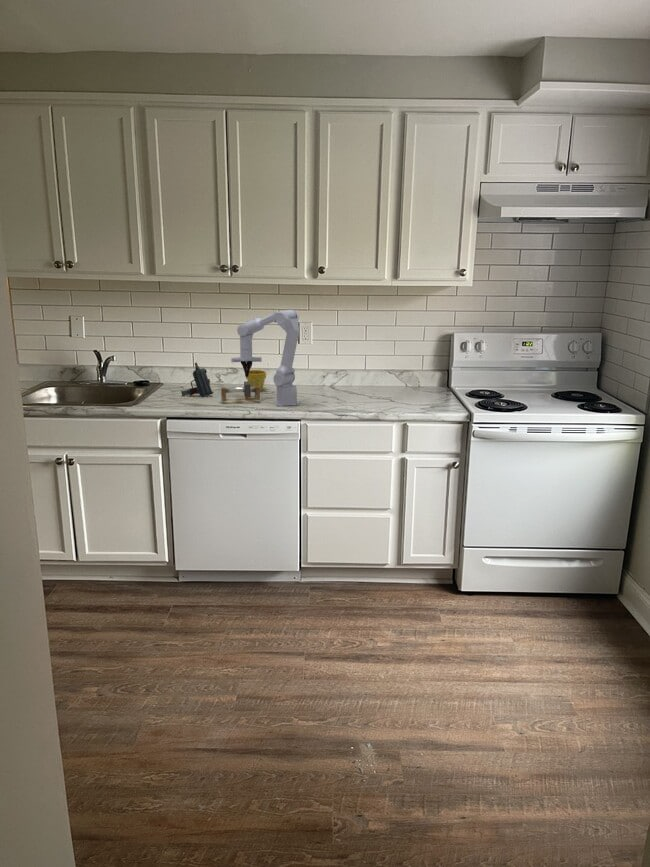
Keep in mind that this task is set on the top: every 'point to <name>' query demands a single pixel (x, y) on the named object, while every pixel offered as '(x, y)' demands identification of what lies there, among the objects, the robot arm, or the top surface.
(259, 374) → the plant pot
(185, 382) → the top surface
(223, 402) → the pipe stand
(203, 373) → the gun
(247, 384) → the collar
